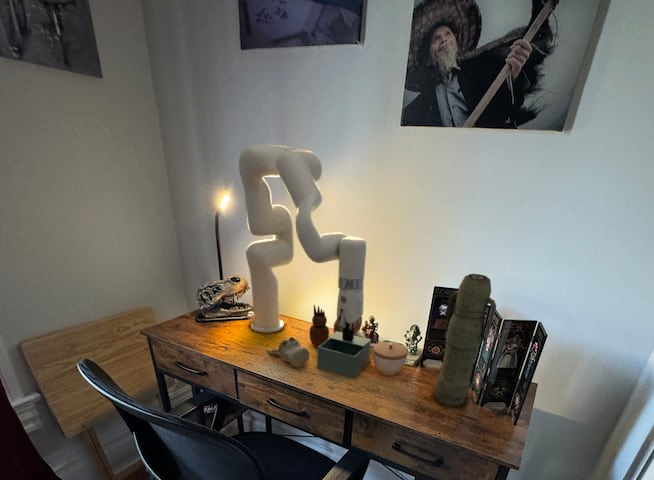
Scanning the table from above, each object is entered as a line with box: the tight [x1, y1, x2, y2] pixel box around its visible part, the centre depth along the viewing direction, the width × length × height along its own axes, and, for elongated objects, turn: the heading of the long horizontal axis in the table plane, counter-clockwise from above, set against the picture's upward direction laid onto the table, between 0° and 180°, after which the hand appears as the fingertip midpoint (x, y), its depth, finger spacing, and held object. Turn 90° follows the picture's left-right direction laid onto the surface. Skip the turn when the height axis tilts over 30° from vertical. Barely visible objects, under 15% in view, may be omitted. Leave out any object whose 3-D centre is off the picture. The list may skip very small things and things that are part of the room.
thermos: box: [434, 273, 497, 407], centre depth 100 cm, size 9×12×35 cm
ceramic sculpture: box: [265, 336, 310, 368], centre depth 121 cm, size 11×9×15 cm
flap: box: [328, 331, 372, 347], centre depth 122 cm, size 12×6×1 cm, turn 64°
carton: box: [317, 338, 372, 379], centre depth 121 cm, size 13×13×7 cm
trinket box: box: [372, 341, 409, 376], centre depth 119 cm, size 11×11×9 cm
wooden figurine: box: [309, 304, 330, 348], centre depth 131 cm, size 7×6×15 cm
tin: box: [333, 315, 363, 335], centre depth 141 cm, size 15×3×8 cm, turn 143°
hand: (347, 339), depth 120 cm, fingers closed
